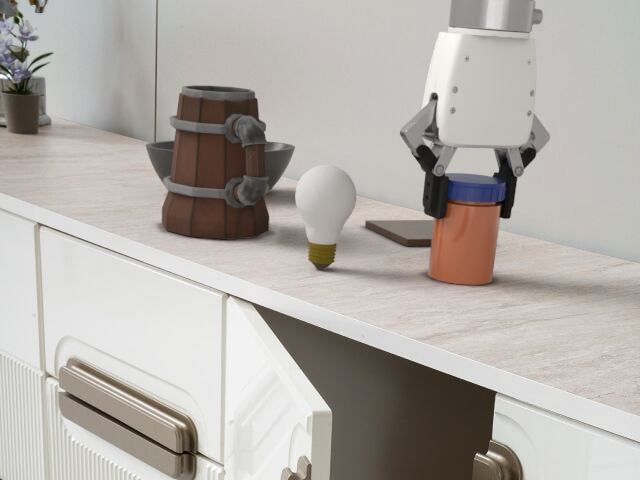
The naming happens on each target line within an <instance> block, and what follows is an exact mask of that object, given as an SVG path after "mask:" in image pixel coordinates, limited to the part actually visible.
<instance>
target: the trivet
mask: <svg viewBox="0 0 640 480" xmlns="http://www.w3.org/2000/svg"><path fill="white" fill-rule="evenodd" d="M433 221H434V219H393V220H392V219H391V220H390V219H387V220H386V219H383V220H382V219H380V220H378V219H377V220H375V219H374V220H373V219H372V220H365V221H364V222H365V223H364V227H365V228H367V229H369V230H371V231H373V232H375V233H377V234H380V235H381V236H384V237H386V238H387V239H390V240H393V241H395V242H397V243H398V244H399V243H400V244H401V245H403V246H406V247H431V240H432V231H433Z"/></svg>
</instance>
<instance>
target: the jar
mask: <svg viewBox="0 0 640 480" xmlns="http://www.w3.org/2000/svg"><path fill="white" fill-rule="evenodd" d="M501 208H502V204H501V203H500V202H470V201H461V200H454V199H449V198H448V199H447V208H446V216H445V218H443V219H436V218H433V220H434V221H433V231H432V240H431V246H430V249H429V250H430V251H429V260H428V268H427V276H428V277H429V278H431V279H433V280H436V281H439V282H443V283H448V284H453V285H455V284H456V285H464V286H467V285H468V286H478V285H486V284H490V283H492V281H493V275H494V269H495V260H496V252H497V246H498V238H499V229H500V223H501V222H500V221H501V218H500V215H501Z"/></svg>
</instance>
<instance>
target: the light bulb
mask: <svg viewBox="0 0 640 480" xmlns="http://www.w3.org/2000/svg"><path fill="white" fill-rule="evenodd" d="M294 197H295V206H296V208H297V210H298V213H299V215H300V217H301V219H302V221H303V223H304V227H305V228H304V229H305V234H306V237H307V240H308V242H307V243H308V248H307V249H308V252H307V254H308V255H307V256H308V258H307V259H308V262H310V263H311V264H312V265H313V266H314V268H316V269H317V270H326V269H328V267H330V266H331V265H332V264H333V263H335V259H336V251H337V250H336V248H337V246H338V245H337V243H338V241H339V240H340V237H341V232H342V230H343V228H344V226H345V225H346V222H347V221H348V219H349V218H350V217H351V216H352V214H353V212H354V210H355V207H356V203H357V189H356V186H355V183H354V182H353V179H352V178H351V176H350V175H349V174H348V172H346V171H345V170H344V169H342V168H340V167H338V166H336V165H333V164H320V165H316V166H314V167H311V168H309V170H307V171H306V172H304V173H303V175H302V176H301V178H300V179H299V181H298V182H297V185H296V188H295V195H294Z"/></svg>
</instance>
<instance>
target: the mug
mask: <svg viewBox="0 0 640 480" xmlns="http://www.w3.org/2000/svg"><path fill="white" fill-rule="evenodd" d="M258 100H259V99H258V98H257V97H256V92H255V91H254V90H252V89H249V88H244V87H236V86H223V85H194V84H193V85H185V86H182V87H181V92H180V93H179V94H178V101H177V108H176V109H177V110H176V115H171V116H170V117H169V125H170V126H171V127H172V128H173V129H174V130H175V133H174V140H175V141H174V140H173V141H174V149H173V158H172V166H171V175H170V176H168V177H164V179H163V183H162V185H163V186H164V188H166V190H167V193H166V196H165V199H164V202H163V204H162V207H161V224H162V225H163V227H164V229H165V230H166V232H167V231H168V232H171V233H174V234H178V235H183V236H187V237H191V238H200V239H201V238H203V239H215V240H217V239H218V240H233V239H235V240H236V239H247V238H248V239H249V238H255V237H257V236H260V235H263V234H265V233H267V232H269V230H270V212H269V210H268V206H267V204H266V200H265V195H264V194H266V195H267V194H269V193H270V191H269V185H268V184H267V182H268V180H269V177H268V176H267V175H265V149H264V146H266V145H267V141H268V140H267V138H266V137H267V136H266V133H265V132H266V131H267V124H266V122H265V121H263V120H261V119H260V115H259V113H260V111H259V101H258Z"/></svg>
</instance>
